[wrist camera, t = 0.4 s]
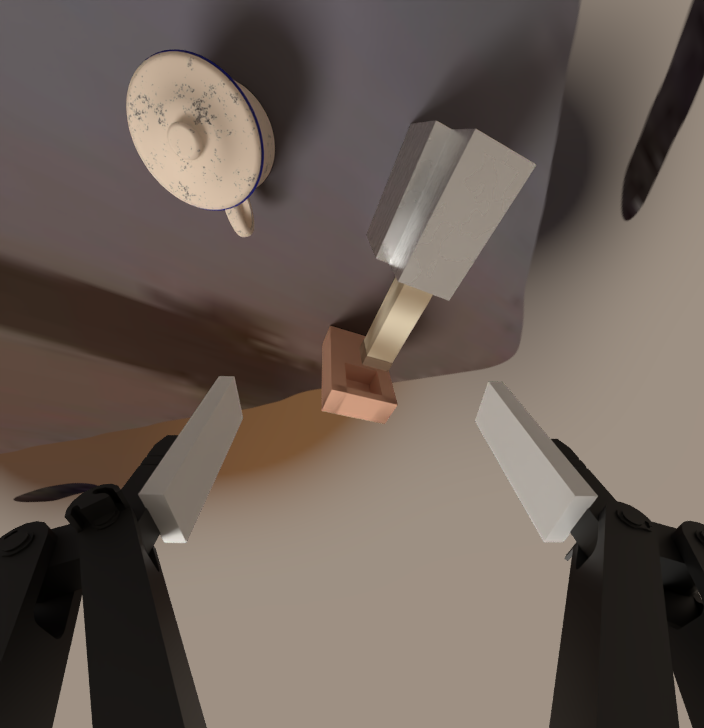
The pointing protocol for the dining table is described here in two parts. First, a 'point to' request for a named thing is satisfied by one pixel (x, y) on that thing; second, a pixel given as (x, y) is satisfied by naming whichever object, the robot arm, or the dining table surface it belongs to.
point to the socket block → (353, 380)
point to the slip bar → (392, 325)
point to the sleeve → (443, 204)
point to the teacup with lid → (200, 133)
